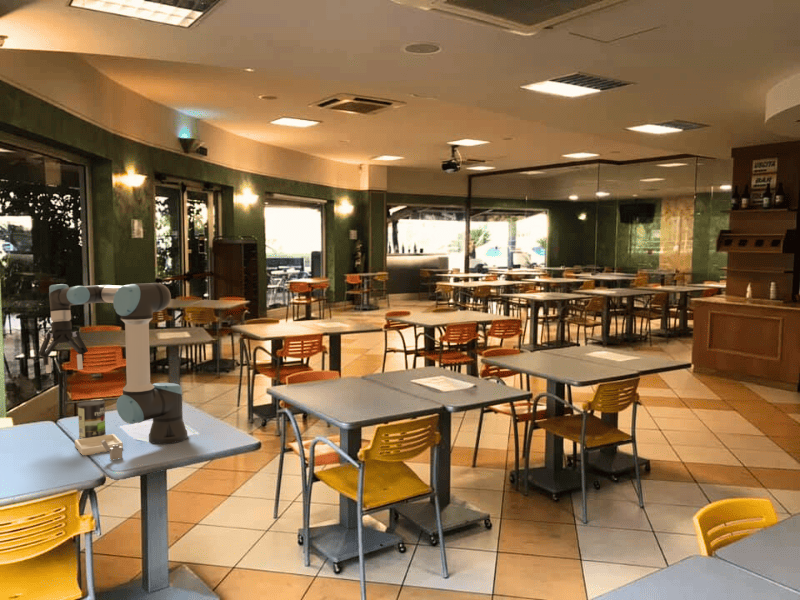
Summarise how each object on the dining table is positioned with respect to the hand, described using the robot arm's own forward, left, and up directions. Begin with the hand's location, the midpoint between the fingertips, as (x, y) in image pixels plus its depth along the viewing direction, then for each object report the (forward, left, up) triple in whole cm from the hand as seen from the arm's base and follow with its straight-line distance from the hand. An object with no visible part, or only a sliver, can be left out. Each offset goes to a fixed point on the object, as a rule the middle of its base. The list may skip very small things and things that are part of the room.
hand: (64, 371), depth 283 cm
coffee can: (-14, 0, -27) cm, 30 cm away
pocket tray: (-29, +11, -26) cm, 40 cm away
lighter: (-45, +20, -27) cm, 56 cm away
